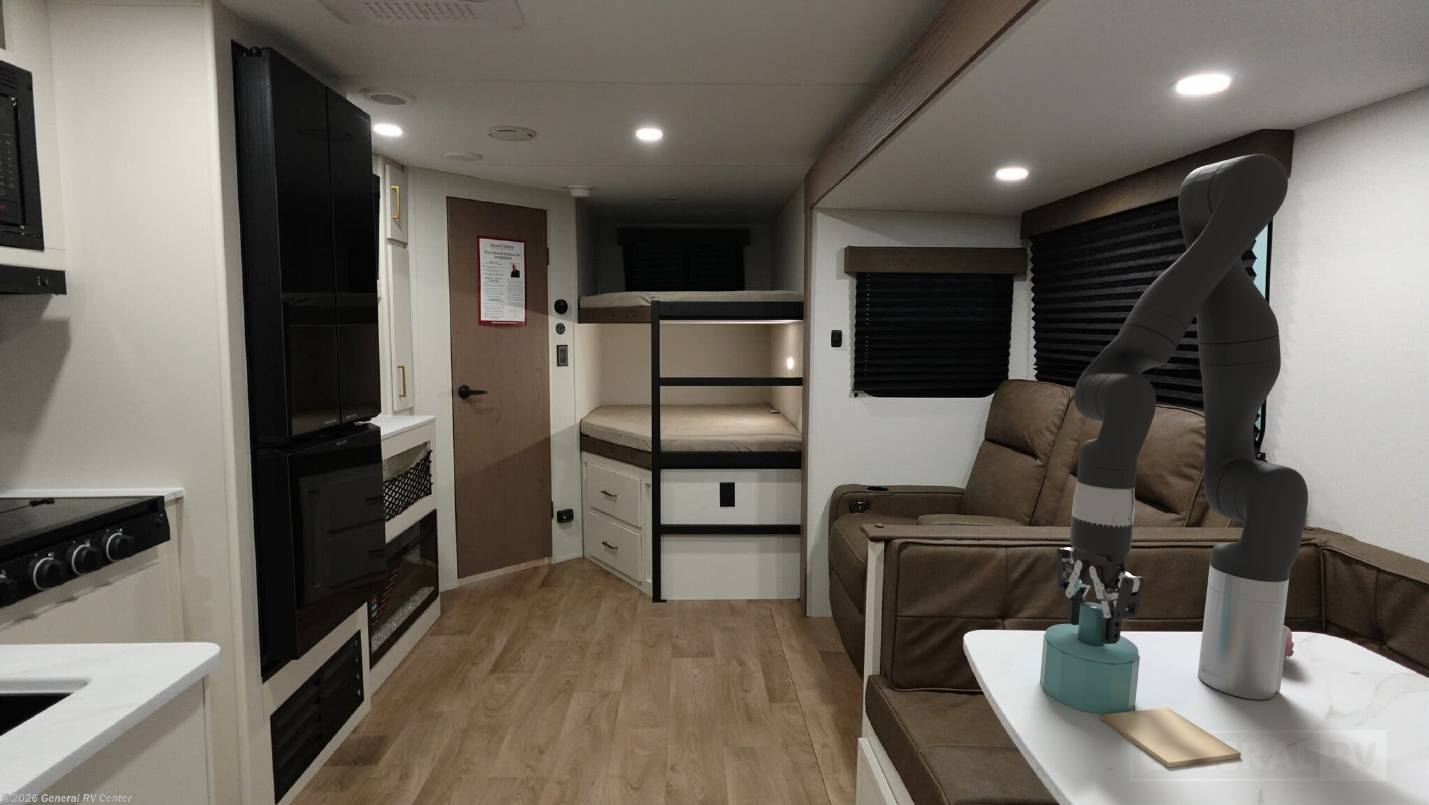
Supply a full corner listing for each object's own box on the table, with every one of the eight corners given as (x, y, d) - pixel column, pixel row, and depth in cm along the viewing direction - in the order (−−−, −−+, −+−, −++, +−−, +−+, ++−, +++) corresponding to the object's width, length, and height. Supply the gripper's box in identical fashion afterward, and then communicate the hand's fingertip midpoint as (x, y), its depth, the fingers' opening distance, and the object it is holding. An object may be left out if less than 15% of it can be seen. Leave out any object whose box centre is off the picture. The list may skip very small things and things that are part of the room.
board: (1167, 711, 98) (1167, 707, 98) (1240, 757, 87) (1240, 753, 87) (1100, 719, 95) (1101, 714, 95) (1168, 767, 85) (1168, 762, 85)
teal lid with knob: (1090, 669, 109) (1098, 589, 108) (1153, 710, 98) (1163, 621, 97) (1023, 676, 106) (1030, 593, 105) (1080, 718, 95) (1089, 626, 94)
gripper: (1168, 529, 93) (1155, 654, 95) (1087, 502, 107) (1077, 611, 109) (1119, 531, 92) (1107, 658, 93) (1043, 503, 105) (1034, 614, 107)
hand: (1091, 632), depth 101 cm, fingers open, 5 cm apart
